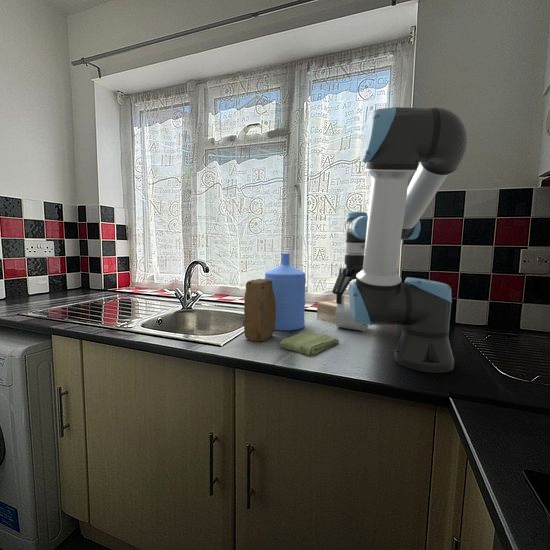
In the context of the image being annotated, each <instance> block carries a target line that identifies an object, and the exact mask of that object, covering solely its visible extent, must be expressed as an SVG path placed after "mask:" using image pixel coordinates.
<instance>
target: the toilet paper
mask: <svg viewBox="0 0 550 550" xmlns="http://www.w3.org/2000/svg"><path fill="white" fill-rule="evenodd" d="M334 324H335V325H336V327H338V328H343V329H348V330H354V331H361V332H366V331H367V330H368V326H369V324H358V323H356V322H355V321H354V319H353V317H352V313H351V308H350V301H347V302H344V313H340V312H337V308H336V311H335V323H334Z"/></svg>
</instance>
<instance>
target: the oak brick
mask: <svg viewBox="0 0 550 550" xmlns="http://www.w3.org/2000/svg"><path fill="white" fill-rule="evenodd" d="M336 300H337V299H335V300H326V301H325V300H324V301H319V302H317V303H316V319H319V318H320V319H319V320H322V319H323V320H322V321H326V322H329V323H333V324H336V323H335V311H336V308H337V303H336ZM344 302H348V301H347V300H344Z"/></svg>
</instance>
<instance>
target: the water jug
mask: <svg viewBox="0 0 550 550" xmlns="http://www.w3.org/2000/svg"><path fill="white" fill-rule="evenodd" d="M280 255H281V259H280V260H281V263H280V265H277V266H275V267H274V268H271V269H269V270H267V271H266V272H265V273H264V275H265V276H264V279H268V280H271V281H272V285H273V291H274V295H275V302H276V320H275V329H274V331H279V332H289V331H297V330H301V329H302V328H304V327H305V323H306V321H305V310H306V309H305V308H306V307H305V305H306V284H307V283H306V272H304V271H302V270H301V269H299V268H297V267H295V266H293V265H291V263H290V261H291V258H290V255H291V254H290V253H281V254H280Z"/></svg>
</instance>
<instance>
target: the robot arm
mask: <svg viewBox="0 0 550 550" xmlns="http://www.w3.org/2000/svg"><path fill="white" fill-rule="evenodd" d="M467 147H468V135H467V128H466V127H465V125H464V123H463V121H462V119H461V118H460V116H458V115H457V114H456V113H455V112H453V111H452V110H449V109H447V108H443V107H403V106H402V107H400V106H399V107H396V106H395V107H393V106H392V107H385V108H384V107H383V108H382V107H381V108H377V109H376V110H374V111H373V112H372V113H371V114H370V115H369V117H368V119H367V121H366V124H365V127H364V130H363V134H362V139H361V144H360V155H359V159H360V161H361V162H362V163H364V164H366V165H365V166H366V167H365V168H366V169H365V171H366V172H367V173H368V174H369V176H370V178H371V181H370V182H371V184H370V191H369V192H370V193H369V201H368V213H367V212H365V211H349V212H348V213H347V214H346V219H345V243H344V244H345V245H344V253H345V254H344V264H345V266H346V267H345V268H344V267H339V269H338V270H339V271H338V276H337V277H336V281H335V283H334V285H333V288H332V290H331V291H332V292H331V293H332V294H334V295H336V299H335V300H336V303H337V312H340V313H344V301H345V295H344V293H345V291H346V290H347V288H348V298H349V299H348V300H349V301H348V302H350V308H351V313H352V317H353V319H354V321H355V322H356V323H358V324H368V326H372V325H374V326H402V330H401V331H402V333H401V335H400V338H399V339H398V342H397V344H396V347H395V349H394V353H393V354H394V355H393V358H394V359H393V360H394V361H395V362H396V364H398V365H400V366H402V367H404V368H407V369H410V370H412V371H417V372H422V373H431V374H437V373H438V374H440V373H441V374H443V373H448V372H452V371H453V370H454V368H455V367H454V366H455V358H454V354H453V350H452V348H451V343H450V340H449V334H450V333H449V332H450V321H451V311H452V303H453V300H452V299H453V298H452V288H451V286H450V285H449V284H447V283H444V282H440V281H436V280H432V279H431V280H429V279H424V278H419V277H417V278H416V277H406V278H405V280H404V282H402V277H401V276H400V275H399V274H398V273H397V271H398V270H397V269H398V264H399V263H398V262H399V255H400V250H401V249H400V248H401V240H402V241H407V240H415V239H417V238H418V237H419V235H420V232H421V228H422V227H421V221H420V219H421V217H422V216H423V215H424V213H425V211H427V208H428V206H429V205H430V203H431V202H432V200H433V198H434V197H435V196H436V194H437V193H438V192H439V189H440V188H441V186H442V185H443V183H444V182H445V180H446V179H447V177H448V176H449V175H451V174H453V173H455V172H456V170H457V169H459V166H460V165H461V163H462V161H463V160H464V157H465V155H466V152H467ZM418 164H419V165H418ZM411 176H412V179H411V180H410V178H411ZM409 180H410V182H409Z"/></svg>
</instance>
